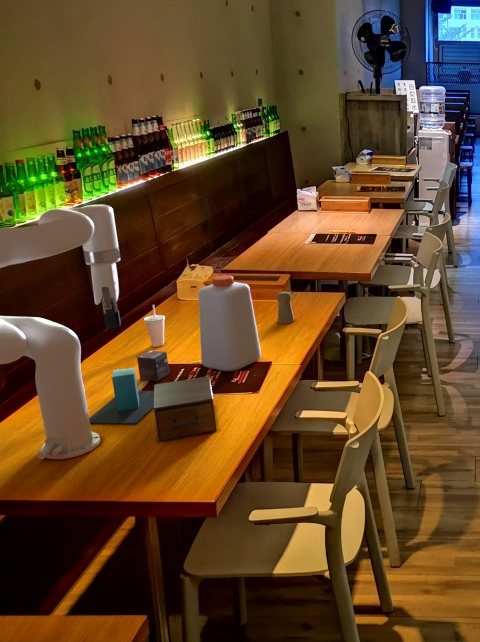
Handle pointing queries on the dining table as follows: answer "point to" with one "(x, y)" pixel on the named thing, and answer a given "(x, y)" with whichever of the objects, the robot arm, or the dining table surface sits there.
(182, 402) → the cabinet
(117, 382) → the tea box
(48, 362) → the robot arm
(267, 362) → the dining table surface
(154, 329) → the smoothie
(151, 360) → the box
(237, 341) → the plastic bottle
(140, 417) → the mat
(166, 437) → the drawer
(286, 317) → the pepper shaker
